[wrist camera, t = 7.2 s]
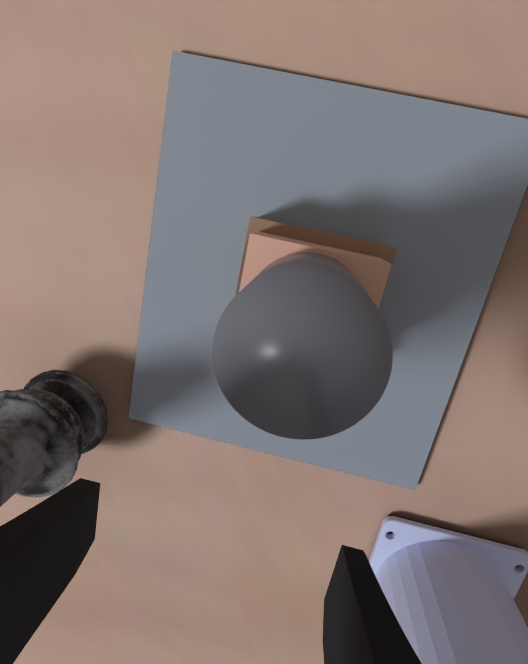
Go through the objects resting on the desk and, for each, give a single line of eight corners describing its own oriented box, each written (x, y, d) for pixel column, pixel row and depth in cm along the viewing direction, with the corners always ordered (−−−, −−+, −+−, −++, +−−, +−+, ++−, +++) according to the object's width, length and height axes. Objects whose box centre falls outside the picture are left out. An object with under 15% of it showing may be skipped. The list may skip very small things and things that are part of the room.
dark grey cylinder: (347, 383, 15) (361, 458, 10) (234, 354, 16) (197, 414, 11) (383, 269, 14) (418, 294, 9) (259, 239, 14) (231, 248, 9)
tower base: (352, 365, 20) (356, 384, 18) (235, 337, 21) (224, 353, 18) (386, 244, 19) (396, 248, 16) (258, 217, 19) (250, 216, 16)
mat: (413, 485, 22) (415, 490, 22) (131, 415, 23) (128, 418, 23) (545, 125, 17) (550, 123, 17) (175, 54, 18) (172, 50, 18)
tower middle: (348, 371, 18) (353, 394, 15) (237, 345, 18) (224, 364, 16) (380, 257, 16) (391, 264, 14) (259, 231, 17) (249, 233, 14)
